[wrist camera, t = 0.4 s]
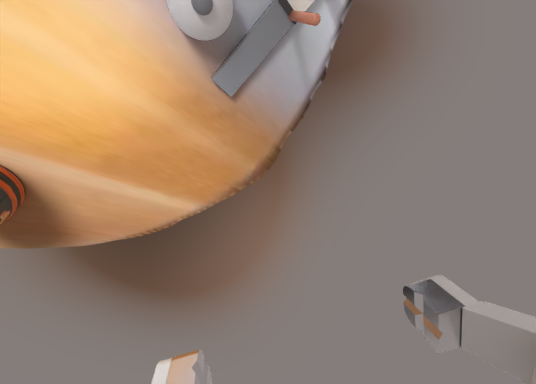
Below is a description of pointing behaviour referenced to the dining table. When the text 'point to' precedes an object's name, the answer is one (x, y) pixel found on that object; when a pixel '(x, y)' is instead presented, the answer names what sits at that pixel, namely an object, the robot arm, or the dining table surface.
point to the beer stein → (9, 194)
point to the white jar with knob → (202, 17)
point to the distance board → (262, 41)
